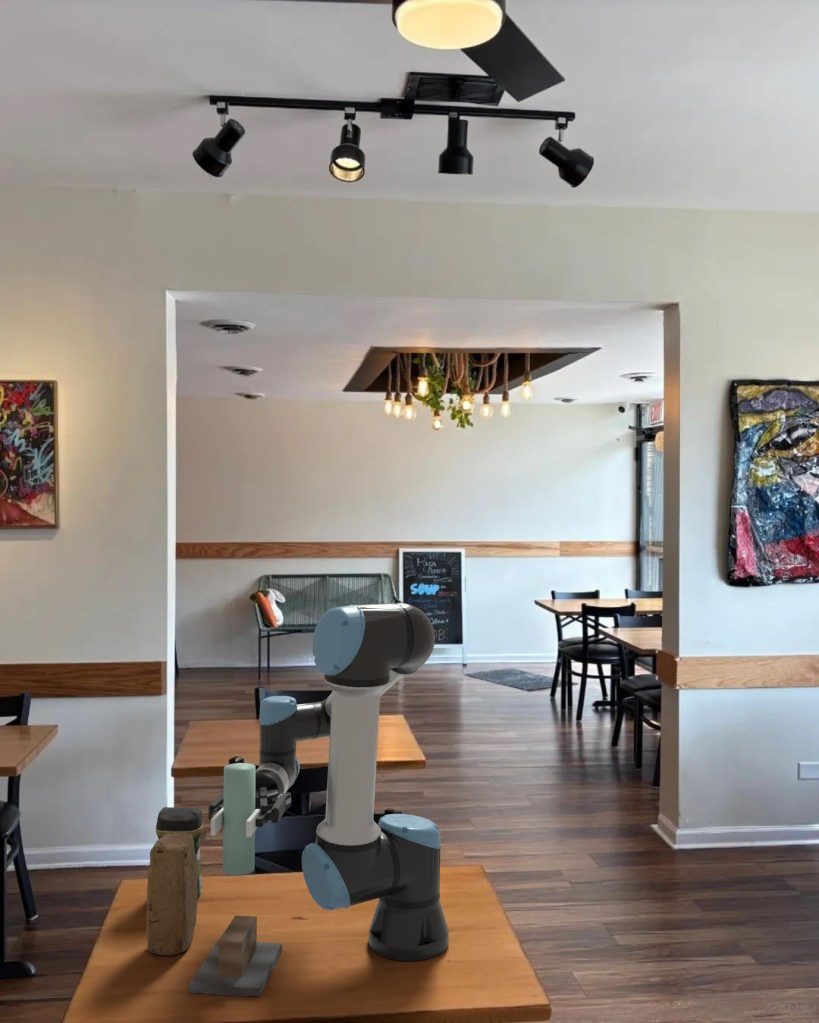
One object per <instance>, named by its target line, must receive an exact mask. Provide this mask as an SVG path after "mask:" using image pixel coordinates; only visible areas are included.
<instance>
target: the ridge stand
mask: <svg viewBox="0 0 819 1023" xmlns="http://www.w3.org/2000/svg"><path fill="white" fill-rule="evenodd" d="M257 920H258V916H254V915H253V916H251V915H250V916H249V915H234V917H233V919H232V920H231V921H230V923H229V924H228V926H227V928H225V930H224V932H223V934H222V935H221V937H220V938H219V939H218V940H217V942H216V943H215V944H214V946H213V948H212V949H211V951H210V952H209V954H207V957H206V958H205V960H204V961H203V963H202V964H201V966H200V967H199V969H198V970H197V971H196V974H195V975H194V977H193V978H192V979H191V981H190V982H189V985H188V986H189V989H188V990H189V991H188V993H189V994H196V993H202V994H201V995H212V994H213V995H214V994H215V995H216V996H229V995H231V996H232V995H233V997H245V996H255V997H254V998H260V997H261V996H262V992H263V991H264V989H265V987H266V985H267V982H268V981H267V980H269V979H268V978H270V977H271V975H272V973H271V972H273V971H272V970H274V969H275V967H276V965H277V962H278V960H279V959H280V956H281V954H282V952H283V943H282V942H267V941H265V942H264V941H258V940H257V936H258V934H257V931H258V929H257V928H258V925H257V923H258V921H257ZM270 974H271V975H270ZM269 976H270V977H269ZM203 993H204V994H203ZM256 996H257V997H256ZM259 996H260V997H259Z"/></svg>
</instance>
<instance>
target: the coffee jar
mask: <svg viewBox="0 0 819 1023" xmlns="http://www.w3.org/2000/svg"><path fill="white" fill-rule="evenodd" d="M156 819H157V820H156V825H155V834H156V836H157V838H158V839H157V840H159V839H160V838H161V837H162V836H163V835H165V834H174V833H185V834H191V835H192V836H193V839H194V850H195V855H196V863H197V898H199V896H200V895H201V893H202V892H203V891H202V890H203V878H202V867H201V866H202V865H201V849H200V848H201V835H202V832H203V830H204V829H203V828H204V820H203V812H202V808H201V807H200V806H198V807H197V806H196V807H185V806H183V807H181V806H180V807H174V806H173V807H172V806H171V807H168V806H164V807H163V808H161V810H160V811H159V812H158V815H157V818H156Z"/></svg>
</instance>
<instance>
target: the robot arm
mask: <svg viewBox="0 0 819 1023" xmlns="http://www.w3.org/2000/svg"><path fill="white" fill-rule="evenodd" d="M318 620H319V621H318V622H317V624H316V626H315V629H314V633H313V636H312V637H313V638H312V655H313V657H314V663H315V664H314V665H315V666H316V668H317V669H318V671H319V672H320V673H322V674H323V675H324V678H323V680H324V682H325V683H326V684H327V685H328V686H329V687H330V689H331V693H330V694H329V696H327V697H326V698H325V699H324V700H322V701H316V702H308V703H300V704H297V700H296V698H295V697H292V696H290V695H289V696H288V695H273V696H267V697H265V698H264V699H262V701H261V702H260V707H259V719H258V723H259V728H258V729H259V751H258V752H259V753H258V757H259V758H258V760H259V762H258V767H257V769H256V770H255V811H254V812H253V813H252V815H251V816H250V817H249V818H248V820H247V821H246V837H251V836H252V834H253V833H254V832H255V833H256V830H258V828H262V827H264V825H265V824H267V823H268V822H269V821H271V823H272V824H277V823H279V821H280V820H281V819H282V817H283V815H284V813H285V811H286V810H287V809H289V808H290V807H292V793H291V792H289V791H288V790H289V789H291V787H293V785H294V784H295V782H296V781H297V778H298V777H299V776H298V775H299V773H300V769H301V768H300V761H299V759H298V757H297V756H296V755H297V754H296V753H297V742H303V741H309V740H316V739H324V738H329V743H328V744H329V747H328V765H327V767H328V768H327V786H326V803H325V805H326V806H325V819H323V820H322V821H321V822H320V823H318V825H317V827H316V831H315V832H316V836H315V842H312V843H309V844H308V845H306V846H305V847H304V849H303V851H302V854H301V868H302V869H301V870H302V874H303V878H304V882H305V885H306V887H307V890H308V893H309V894H310V895H311V897H312V900H314V902H315V903H316V904H317V905H318V906H319V907H320V908H321V909H323V910H325V911H335V910H340V909H349V908H350V907H352V906H356V905H359V904H363V903H365V902H369V901H370V902H371V901H373V900H377V904H376V906H375V909H374V913H373V916H372V918H371V922H370V926H369V929H368V945H369V947H370V949H371V950H372V951H373V952H375V953H376V954H377V955H378V956H379V955H380V956H381V957H384V958H387V959H389V960H394V961H395V960H396V961H404V962H416V961H424V960H428V959H431V958H434V957H437V956H439V955H441V954H443V953H444V951H446V949H447V948H448V947H449V943H450V941H449V938H450V935H449V934H450V933H449V927H448V923H447V920H446V917H445V914H444V910H443V907H442V905H441V900H440V898H441V897H440V896H441V849H442V845H441V834H440V833H441V832H440V829H439V826H438V825H437V823H435V822H434V821H432V820H430V819H428V818H425V817H423V816H417V815H415V814H405V813H391V814H385V815H383V816H381V817H380V818H379V821H378V823H376V821H375V820H374V813H375V812H374V811H375V796H376V795H375V793H376V778H377V777H376V774H377V756H378V740H379V739H378V738H379V724H380V723H379V721H380V705H381V704H380V702H381V701H380V700H381V697H382V695H384V694H385V693H386V692H387V691H388V690H389V689H391V687H392V686H394V685H395V684H396V683H397V682H398V681H399V680H400V679H401V678H402V677H404V676H409V675H412V674H414V673H416V672H417V671H418V670H419V669H420V668H421V667H423V665H425V663H426V662H427V661H428V659H430V657H431V655H432V653H433V650H434V647H435V642H436V640H435V639H436V635H435V629H434V625H433V623H432V622H431V620H430V618H429V617H428V615H427V614H425V613H424V611H422V610H421V609H419V608H418V607H416V606H414V605H412V604H409V603H403V602H391V603H376V604H375V603H373V604H371V603H370V604H349V605H345V606H335V607H333V608H330V609H328V610H327V611H325V613H324V614H323V615H322V616H321V617H320V618H319V619H318ZM223 805H224V789H222V790H221V794H220V795H218V796H217V797H216V798H215V799H214V800H213V801H212V802H211V803H209V804H208V815H207V816H208V820H209V821H210V836H211V837H212V836H213V837H215V836H216V835H217V834H218V833H219V832H220V831H221V829H223Z"/></svg>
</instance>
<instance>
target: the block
mask: <svg viewBox="0 0 819 1023" xmlns="http://www.w3.org/2000/svg"><path fill="white" fill-rule="evenodd" d="M197 911H198V897H197V863H196V855H195V850H194V839H193V836H192V835H191V834H185V833H174V834H165V835H163V836H162V837H161V838H160V839H157V840H156V842H154V844H153V846H152V848H151V849H150V852H149V867H148V870H147V888H146V939H147V940H146V941H147V949H148V951H149V952H150V953H152V954H156V955H159V956H174V955H178V954H181V953H184V952H185V951H186V950H188V949H189V948H190V946H191V944H192V942H193V940H194V934H195V928H196V924H197V914H198V912H197Z"/></svg>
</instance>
